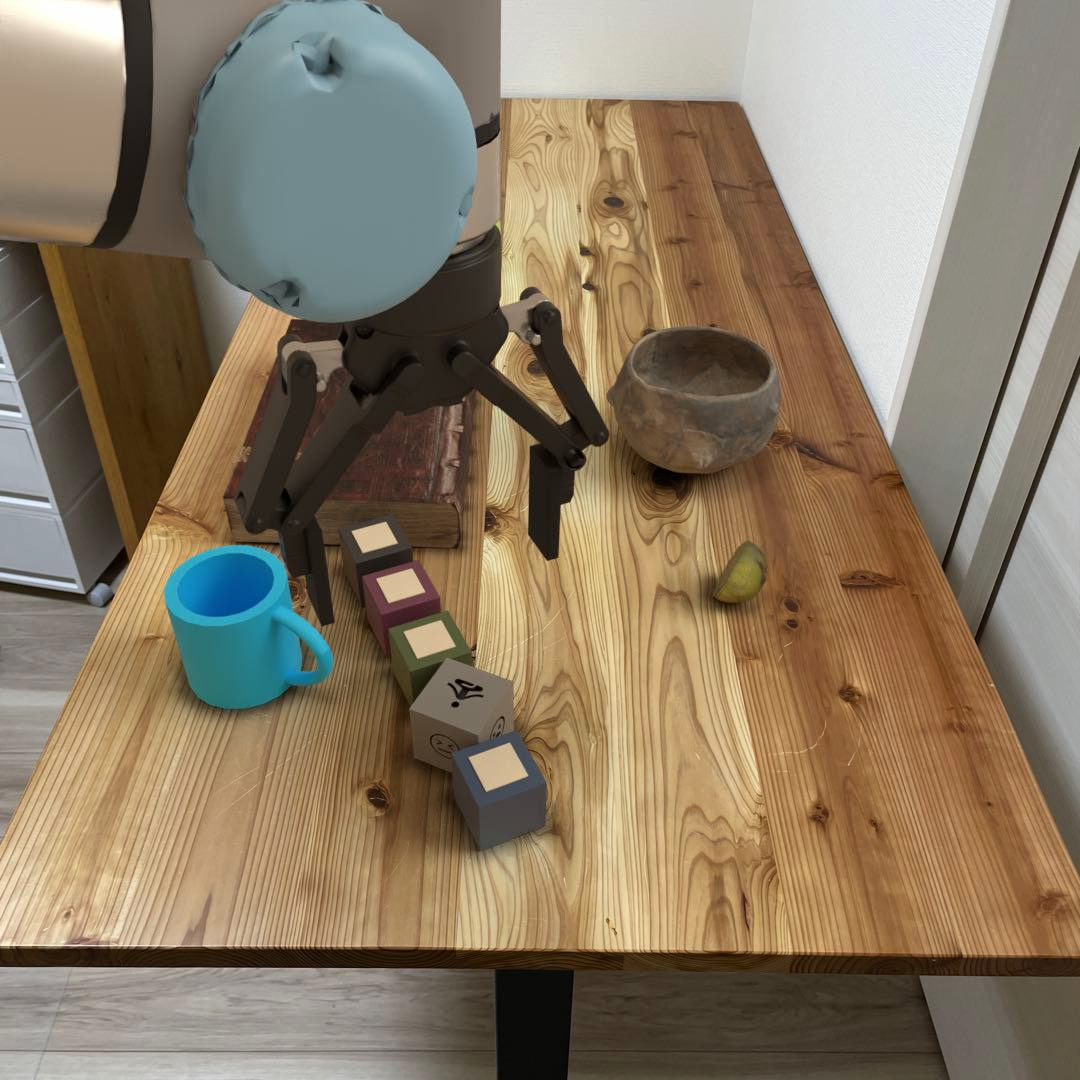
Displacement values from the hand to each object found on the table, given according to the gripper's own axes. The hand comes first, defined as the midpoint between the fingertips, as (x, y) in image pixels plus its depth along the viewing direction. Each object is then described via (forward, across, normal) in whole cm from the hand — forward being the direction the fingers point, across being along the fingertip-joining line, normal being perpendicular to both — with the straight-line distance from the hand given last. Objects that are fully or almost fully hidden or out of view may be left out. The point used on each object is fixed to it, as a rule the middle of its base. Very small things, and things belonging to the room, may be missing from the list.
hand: (436, 577), depth 62 cm
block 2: (+16, -2, -12) cm, 20 cm away
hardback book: (+16, -7, -37) cm, 41 cm away
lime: (+16, -26, -5) cm, 31 cm away
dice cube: (+16, -2, 0) cm, 16 cm away
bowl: (+16, -34, -23) cm, 44 cm away
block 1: (+16, -2, -18) cm, 24 cm away
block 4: (+16, -2, +6) cm, 17 cm away
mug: (+16, +9, -12) cm, 22 cm away
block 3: (+16, -2, -6) cm, 17 cm away
